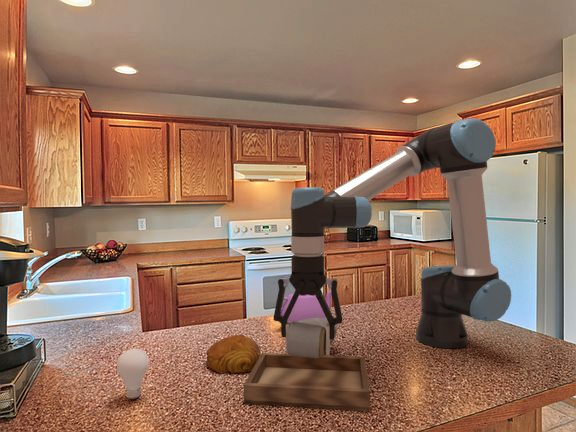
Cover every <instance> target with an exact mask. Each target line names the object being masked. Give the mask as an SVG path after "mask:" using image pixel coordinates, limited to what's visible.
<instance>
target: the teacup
mask: <svg viewBox="0 0 576 432" xmlns="http://www.w3.org/2000/svg"><path fill="white" fill-rule="evenodd" d="M297 322H302V323H307V324H314V325H319V326H322V327H324V328H325V329H326V323H328V321H327V318H324V319H323V318H309V319H304V320H301V321H297ZM337 330H338V324H336V325H335V336H336V334H337ZM334 340H335V339H334ZM334 340H332V339H330V346H331V345H332V344H333V342H334ZM325 352H326V350H325Z"/></svg>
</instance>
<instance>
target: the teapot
mask: <svg viewBox="0 0 576 432" xmlns="http://www.w3.org/2000/svg"><path fill="white" fill-rule="evenodd" d="M293 294H294V292H292V293H290V294H289V295H288V296H284V299H283V301H284V302H283V304H282V309H281V315H282V316H284V314H285V312H286V309H287V307H288V305H289V303H290V301H291V299H292V297H293ZM325 300H326V303H327V305H328V307H329V309H330V310H331V308H332V294H331V289H329V290H328V291H327V292H326V296H325ZM309 318H323V319H324V318H326V316H325V314H324V312H323V310H322V308H321V306H320V304H319V301H318V300H317V298H316V296H315V295H314V296H311V295H300V294H299V297H298V299H297V301H296V303H295V305H294V307H293V309H292V311H291V313H290V316H289V318H288V320H287V322H291V323H292V322H293V321H296V322H297V321H301V320H304V319H309Z"/></svg>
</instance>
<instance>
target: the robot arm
mask: <svg viewBox="0 0 576 432" xmlns="http://www.w3.org/2000/svg"><path fill="white" fill-rule="evenodd" d="M496 145H497V143H496V136H495V134H494V132H493V130H492V129H491V127H490V126H489V124H486V122H484V121H483V120H481V119H478V118H474V117H473V118H466V119H460V120H455V121H454V122H450V123H446V124H443V125H441V126H436V127H432V128H430V129H427V130H426V131H424V132H422V133H421V134H418V136H416V137H414V138H413V139H411V140H409V141H408V142H407V143H405V144H403V145H401V146H400V147H398V148H397V149H396V151H395V153H394V154H392V155H391V156H389V157H387V158H386V159H384V160H382V161H380V162H378V163H377V164H375V165H374V166H372V167H370V168H368V169H367V170H365V171H364V172H363V171H362V172H361V173H360V174H358V175H356V176H354V177H353V178H351V179H349V180H348V181H346V182H344V183H342V184H341V185H339V186H337V187H336V188H334V189H333V190H330V191H329V192H327V193H325V190H324V189H323V188H322V187H313V186H312V187H311V186H310V187H306V186H305V187H295V188H294V189H293V190H292V192H291V199H290V217H291V218H290V219H291V224H290V225H291V236H290V237H291V238H290V239H291V241H290V243H291V244H290V246H291V247H290V248H291V249H290V250H291V253H292V256H291V257H290V258H291V259H290V260H291V273H290V276H289V277H282V276H281V277H280V278H279V279H278V280H277V284H278V293H277V297H276V303H275V308H274V314H273V321H274V322H278V323H280V325H281V327H280V329H281V331H280V333H281V337H282V338H284V339H285V354H288V352H287V338H288V332H289V327H290V325H291V322H287V320H288V318H289V316H290V313H291V311H292V309H293V307H294V305H295V303H296V301H297V299H298V297H299V294H300V295H311V296H314V295H315V296H316V298H317V300H318V301H319V304H320V306H321V308H322V310H323V312H324V314H325V316H326V318H327V321H328V323H326V351H325V355H326V356H330V354H331V353H330V352H331V345H330V339H332V340H335V338H336V335H335V325H336V324H337V325H338V324H343V313H342V308H341V303H340V299H339V293H338V289H337V287H338V279H337V278H327V277H326V275H325V258H324V257H325V256H324V255H323V254H324V253H325V246H324V245H325V229H346V228H347V229H357V228H365V227H367V226H368V225H369V223H370V222H371V220H372V217H373V216H372V215H373V213H372V212H373V209H372V205H371V202H370V200H371V199H373V198H375V197H376V196H378V195H379V194H382V193H383V192H384V191H386V190H388V189H390V188H391V187H393V186H394V185H396V184H398V183H400V182H401V181H403V180H404V179H406V178H407V177H409V176H411V177H416V176H417V175H419V174H421V173H423V172H425V171H429V170H434V169H439V172H440V173H439V174H440V176H442V177H443V178H445V180H446V183H447V190H448V198H449V199H448V200H449V208H450V215H451V216H450V217H451V225H452V226H451V227H452V233H453V235H452V236H453V243H454V253H455V261H456V265H436V266H435V265H433V266H425V267H424V268H422V270H421V277H420V291H421V293H420V294H421V297H420V299H421V303H420V304H421V313H420V314H421V315H420V317H419V320H418V324H417V326H416V329H415V339H416V340H417V341H418V342H420V343H421V344H424V345H427V346H431V347H433V348H434V347H436V348H441V349H459V348H463V347H467V345H468V344H469V334H468V331H467V328H466V325H465V322H464V319H463V315H464V316H466V317H468V318H472V319H473V320H477V321H482V322H487V323H488V322H489V323H490V322H495V321H498V320H500V319H501V318H502V317H503V316H504V315H505V314H506V312H507V310H508V309H509V308H510V304H511V302H512V301H511V300H512V290H511V287H510V285H509V284H508V283H507V282H506V281H504V280H502V279H500V275H499V269H498V267H497V266H495V265H494V264H493V263H492V260H491V259H492V258H491V250H490V249H491V248H490V241H489V239H490V238H489V232H488V231H489V230H488V221H487V212H486V202H485V194H484V193H485V192H484V182H483V174H484V173H485V171H487V170H488V161H489V160H490V159H491V158H492V157H493V155H494V153H495V152H496V151H495V150H496V148H497V147H496ZM289 284H290V285H291V286H292V287H293V288H294V290H295V291H294V292H293V293H294V294H293V297H292V299H291V301H290V303H289V305H288V307H287V309H286V312H285V314H284V316H282V315H281V310H282V307H283V305H284V300H283V299H284V297H285V293H286V290H287V289H286V288H287V287H288V286H289ZM325 284H326V285H327V287H328V289H329V290H331V294H332V295H331V300H332V303H333V308H334V313H335V317H334V315H333V313H332V312H331V309H329V307H328V305H327V303H326V297H325V296H324V293H323V292H322V288H323V287H324V285H325Z"/></svg>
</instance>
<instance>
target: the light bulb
mask: <svg viewBox="0 0 576 432" xmlns="http://www.w3.org/2000/svg"><path fill="white" fill-rule="evenodd" d="M149 367H150V359H149V356H148V354H147V352H146V351H144V350H143V349H141V348H134V347H133V348H130V349H127V350H125V351H124V352H123V353H122V354H121V355H120V356H119V358H118V359H117V363H116V371H117V373H118V375H119V376H120V378H121V379H122V381H123V383H124V387H125V389H126V393H125V394H126V398H127V399H130V400H136V399H137V398H140V396H141V395H142V390H141V389H142V388H141V387H142V385H143V380H144V377H145V375H146V373H147V371H148V369H149Z"/></svg>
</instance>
